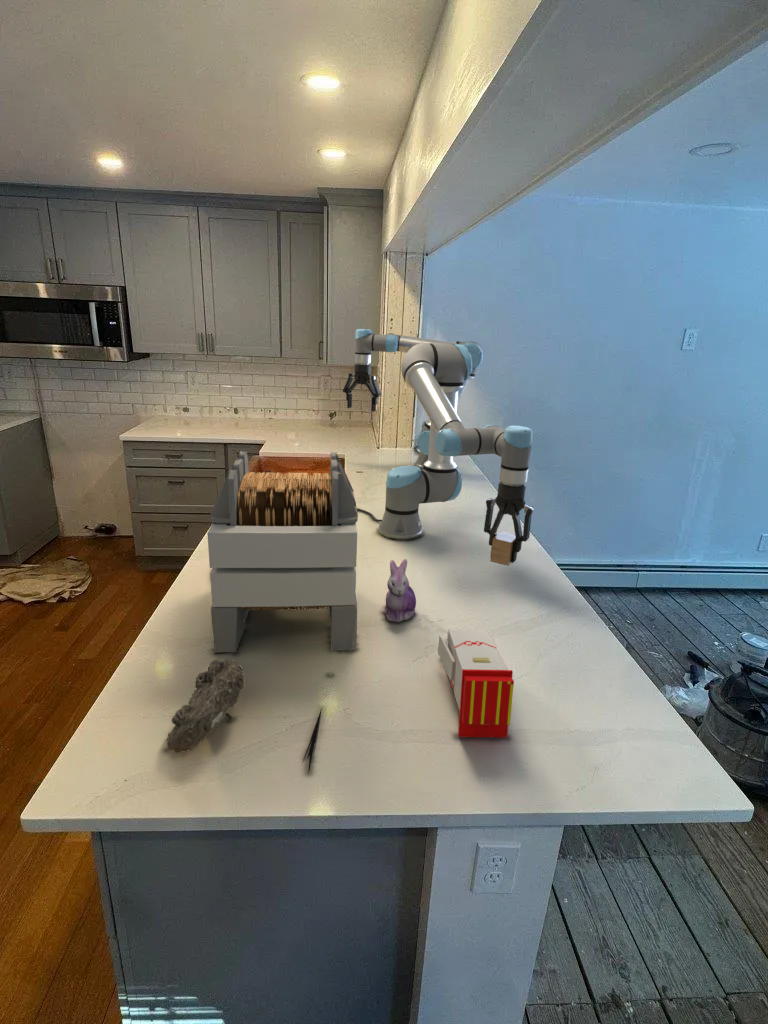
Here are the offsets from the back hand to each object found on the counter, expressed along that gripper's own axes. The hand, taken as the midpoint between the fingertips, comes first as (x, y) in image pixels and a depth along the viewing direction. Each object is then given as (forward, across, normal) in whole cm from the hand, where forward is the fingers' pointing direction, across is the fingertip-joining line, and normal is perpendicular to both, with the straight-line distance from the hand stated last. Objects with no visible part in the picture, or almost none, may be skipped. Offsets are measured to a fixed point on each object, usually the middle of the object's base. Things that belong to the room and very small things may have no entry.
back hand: (361, 409), depth 271 cm
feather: (+29, -92, +157) cm, 185 cm away
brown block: (+22, -101, +80) cm, 131 cm away
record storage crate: (+29, -63, +130) cm, 148 cm away
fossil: (+29, -75, +168) cm, 186 cm away
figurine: (+29, -86, +114) cm, 145 cm away
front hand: (+21, -101, +80) cm, 131 cm away
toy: (+29, -113, +133) cm, 177 cm away
